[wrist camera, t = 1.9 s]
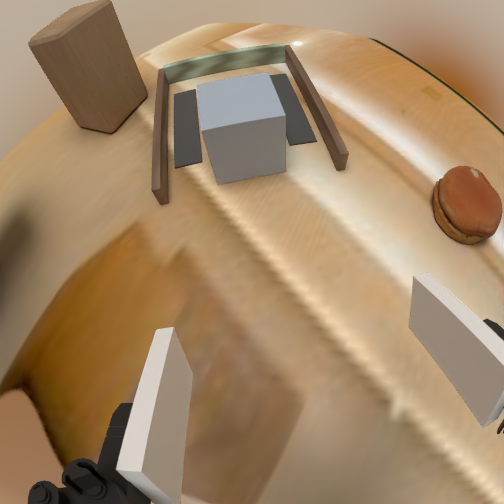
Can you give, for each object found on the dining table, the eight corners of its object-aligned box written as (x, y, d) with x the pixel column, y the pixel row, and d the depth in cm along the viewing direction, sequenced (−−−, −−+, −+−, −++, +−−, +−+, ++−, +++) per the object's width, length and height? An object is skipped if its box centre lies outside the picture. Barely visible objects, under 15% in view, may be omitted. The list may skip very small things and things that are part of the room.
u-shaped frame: (160, 204, 34) (150, 188, 31) (163, 82, 45) (157, 67, 41) (344, 169, 34) (349, 150, 31) (289, 58, 44) (289, 42, 41)
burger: (440, 247, 29) (459, 228, 25) (421, 179, 33) (434, 156, 29) (498, 245, 29) (518, 228, 24) (477, 183, 32) (492, 163, 28)
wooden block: (113, 90, 46) (72, 6, 28) (151, 94, 44) (112, -5, 25) (77, 128, 43) (23, 42, 24) (113, 136, 40) (55, 33, 22)
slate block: (217, 185, 35) (201, 130, 26) (211, 138, 38) (196, 85, 30) (285, 172, 35) (285, 115, 26) (271, 126, 38) (267, 72, 30)
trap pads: (175, 168, 36) (174, 167, 36) (174, 95, 43) (173, 94, 42) (316, 141, 36) (316, 140, 36) (285, 74, 42) (285, 73, 42)
